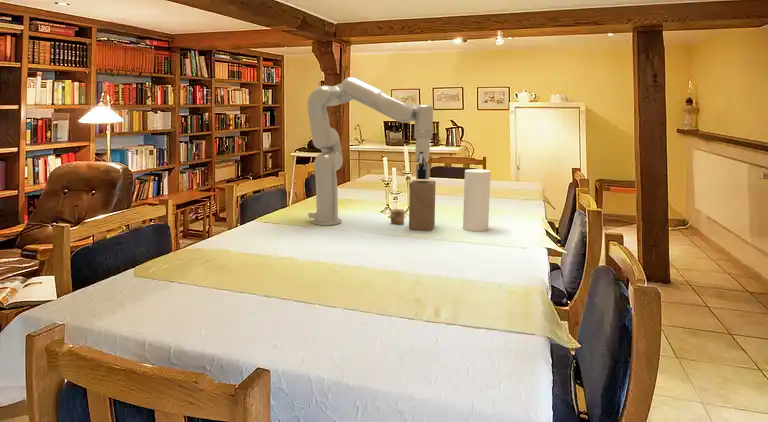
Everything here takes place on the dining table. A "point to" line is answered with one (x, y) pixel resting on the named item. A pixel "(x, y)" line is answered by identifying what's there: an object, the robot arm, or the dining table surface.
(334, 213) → the robot arm
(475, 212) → the tall pillar cylinder
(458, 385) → the dining table surface
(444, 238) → the dining table surface
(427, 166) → the slate block
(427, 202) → the wooden block
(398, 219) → the oak block
